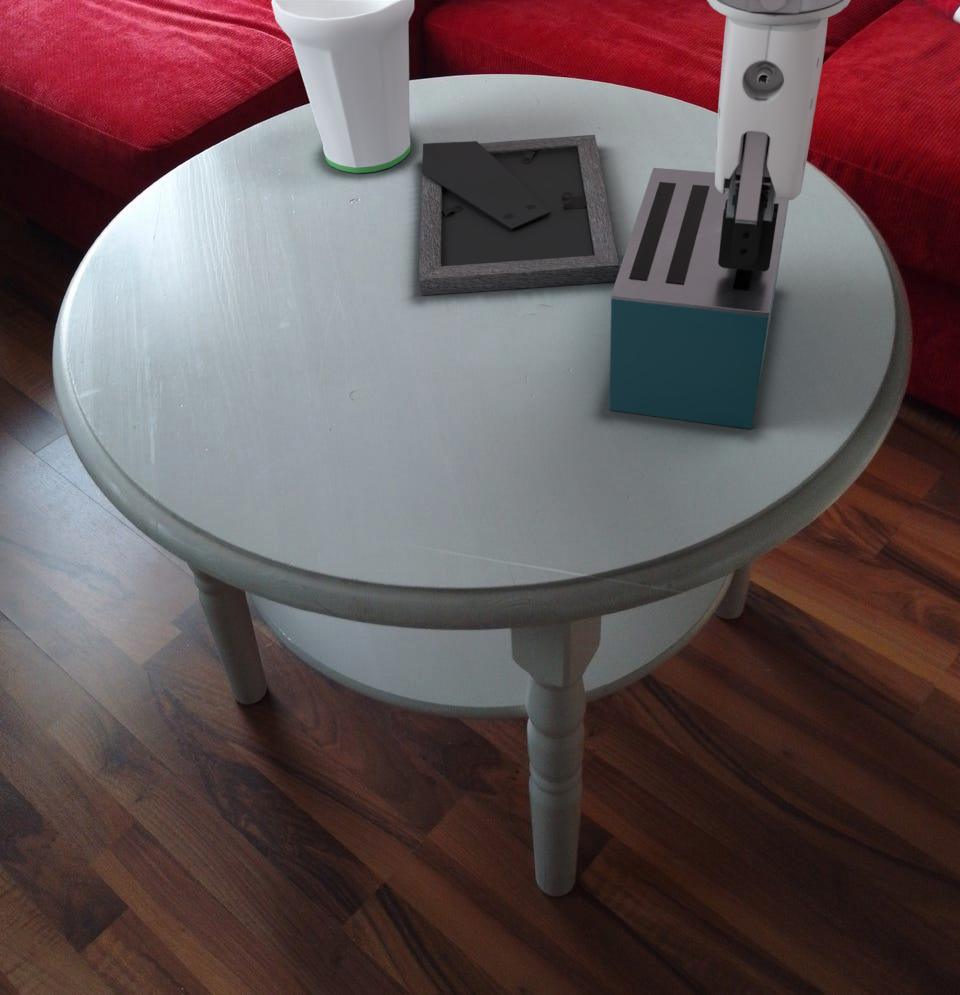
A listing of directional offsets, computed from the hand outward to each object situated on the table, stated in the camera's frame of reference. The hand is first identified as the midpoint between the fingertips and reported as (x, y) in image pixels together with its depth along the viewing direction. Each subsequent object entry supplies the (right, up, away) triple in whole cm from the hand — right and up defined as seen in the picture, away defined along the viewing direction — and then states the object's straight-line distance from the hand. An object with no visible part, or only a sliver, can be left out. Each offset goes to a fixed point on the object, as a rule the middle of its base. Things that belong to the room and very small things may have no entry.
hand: (744, 262), depth 70 cm
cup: (-28, +18, +35) cm, 49 cm away
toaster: (-1, -4, +11) cm, 12 cm away
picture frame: (-14, +9, +26) cm, 31 cm away
